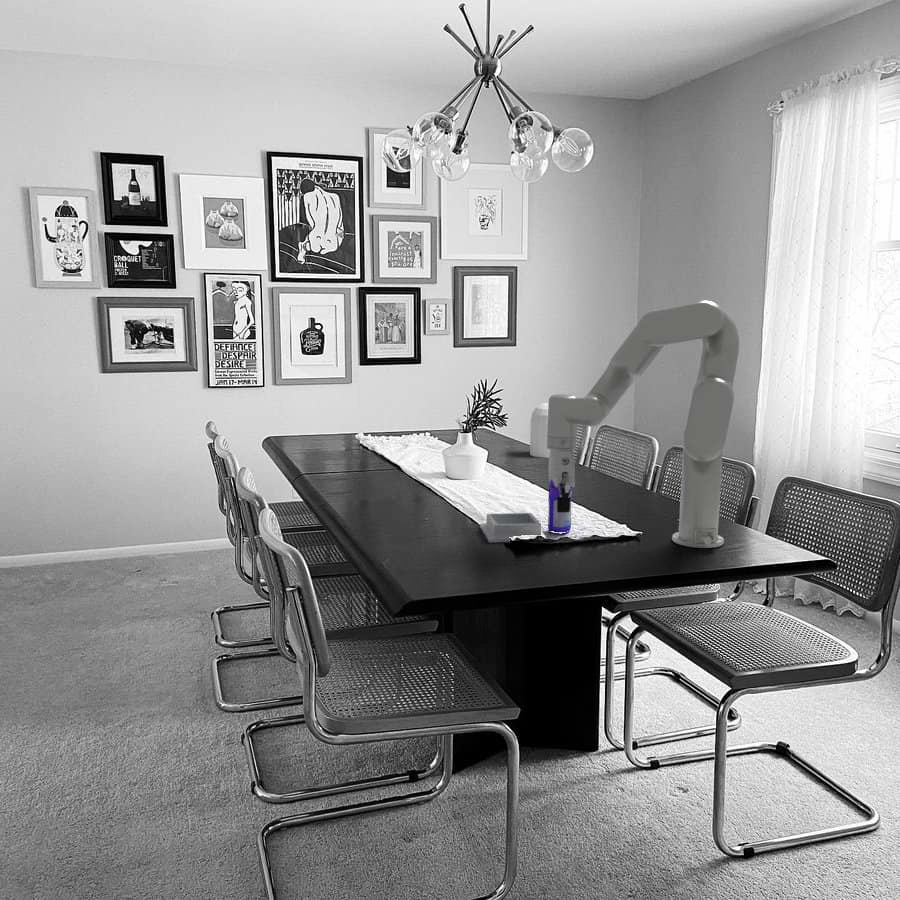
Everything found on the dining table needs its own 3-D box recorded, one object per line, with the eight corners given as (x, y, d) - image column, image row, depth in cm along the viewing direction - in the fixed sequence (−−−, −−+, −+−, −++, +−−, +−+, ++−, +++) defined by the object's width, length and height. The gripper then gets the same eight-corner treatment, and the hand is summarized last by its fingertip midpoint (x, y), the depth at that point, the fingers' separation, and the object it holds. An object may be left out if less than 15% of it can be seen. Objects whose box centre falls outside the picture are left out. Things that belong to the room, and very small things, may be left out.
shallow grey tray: (547, 540, 233) (548, 525, 232) (489, 542, 231) (489, 526, 230) (535, 525, 248) (535, 511, 247) (479, 527, 246) (480, 512, 245)
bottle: (566, 536, 237) (568, 469, 234) (544, 534, 240) (546, 468, 237) (573, 529, 244) (575, 464, 241) (552, 527, 246) (554, 463, 243)
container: (525, 451, 359) (526, 400, 356) (558, 451, 362) (560, 400, 358) (535, 458, 346) (536, 405, 343) (569, 457, 349) (571, 404, 345)
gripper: (584, 448, 230) (581, 515, 233) (567, 437, 247) (564, 499, 250) (555, 448, 229) (552, 515, 232) (539, 437, 246) (537, 500, 249)
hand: (558, 507), depth 241 cm, fingers open, 9 cm apart
